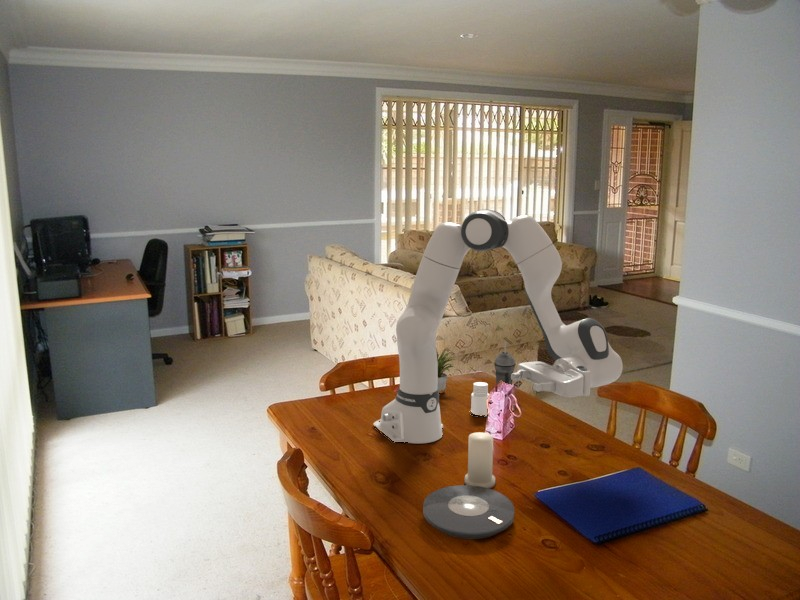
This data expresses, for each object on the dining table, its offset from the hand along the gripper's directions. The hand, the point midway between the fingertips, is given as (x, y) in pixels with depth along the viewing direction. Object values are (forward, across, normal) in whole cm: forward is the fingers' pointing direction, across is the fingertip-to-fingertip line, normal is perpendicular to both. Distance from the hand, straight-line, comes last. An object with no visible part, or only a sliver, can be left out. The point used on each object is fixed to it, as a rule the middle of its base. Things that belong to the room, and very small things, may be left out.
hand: (523, 382), depth 162 cm
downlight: (-13, -42, +24) cm, 50 cm away
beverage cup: (-30, -53, +24) cm, 66 cm away
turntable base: (+24, +14, +24) cm, 37 cm away
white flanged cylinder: (+12, 0, +24) cm, 27 cm away
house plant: (-10, -66, +24) cm, 71 cm away
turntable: (+24, +14, +22) cm, 36 cm away
